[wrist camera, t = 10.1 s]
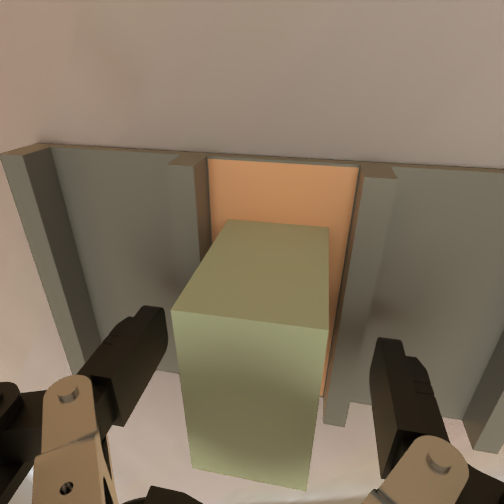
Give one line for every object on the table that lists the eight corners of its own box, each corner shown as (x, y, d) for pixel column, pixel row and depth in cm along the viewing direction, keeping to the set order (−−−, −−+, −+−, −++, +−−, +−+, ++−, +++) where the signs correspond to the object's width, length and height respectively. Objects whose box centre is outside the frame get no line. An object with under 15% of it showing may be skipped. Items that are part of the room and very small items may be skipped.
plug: (232, 347, 18) (192, 468, 12) (228, 219, 14) (170, 310, 9) (313, 359, 17) (306, 491, 12) (328, 227, 14) (328, 330, 8)
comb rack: (95, 352, 21) (74, 379, 19) (37, 143, 15) (-2, 153, 13) (480, 414, 17) (497, 454, 15) (599, 174, 11) (647, 195, 10)
